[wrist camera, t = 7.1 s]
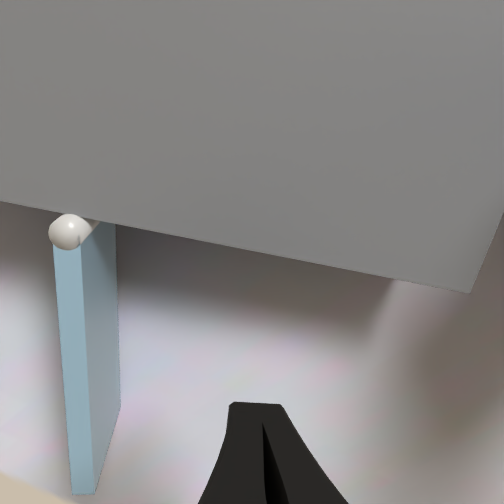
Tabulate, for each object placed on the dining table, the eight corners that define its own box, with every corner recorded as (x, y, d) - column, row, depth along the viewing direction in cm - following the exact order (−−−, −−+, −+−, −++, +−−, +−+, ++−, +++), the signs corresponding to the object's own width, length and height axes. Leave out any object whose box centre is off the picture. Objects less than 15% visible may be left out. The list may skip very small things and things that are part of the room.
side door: (122, 406, 22) (97, 494, 17) (101, 406, 22) (69, 494, 17) (116, 186, 18) (82, 219, 13) (90, 184, 18) (46, 217, 13)
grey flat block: (499, 5, 18) (603, -27, 13) (410, 250, 21) (468, 297, 16) (-68, -167, 15) (-202, -290, 10) (-72, 150, 18) (-176, 171, 13)
